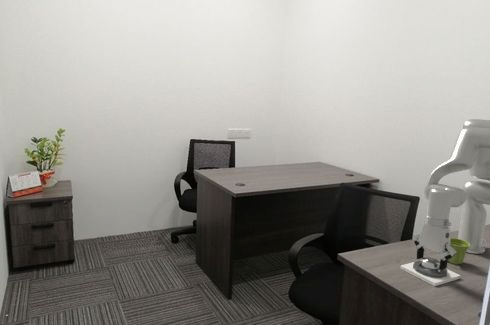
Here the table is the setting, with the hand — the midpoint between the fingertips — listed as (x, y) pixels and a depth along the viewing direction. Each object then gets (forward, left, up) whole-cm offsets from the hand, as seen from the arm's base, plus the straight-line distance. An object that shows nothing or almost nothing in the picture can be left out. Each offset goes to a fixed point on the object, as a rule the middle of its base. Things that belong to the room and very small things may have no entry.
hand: (430, 263), depth 141 cm
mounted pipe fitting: (0, 0, -4) cm, 4 cm away
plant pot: (-20, -3, -4) cm, 21 cm away
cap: (0, 0, -3) cm, 3 cm away
